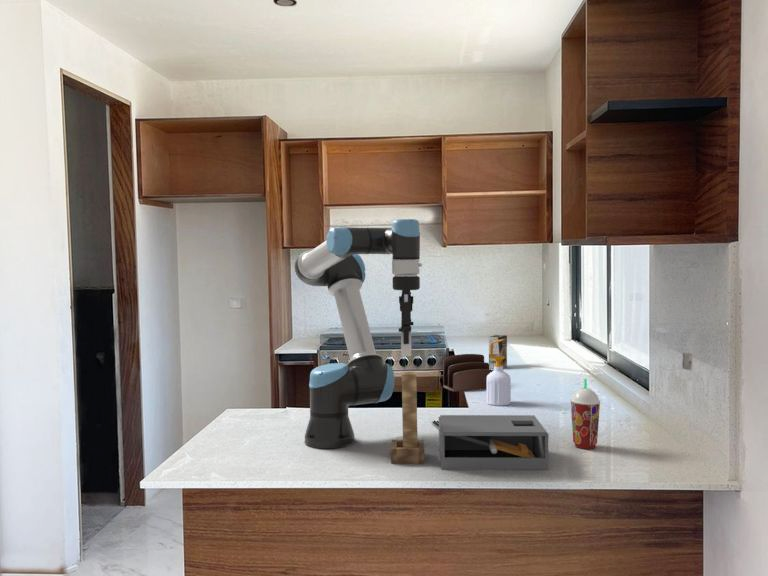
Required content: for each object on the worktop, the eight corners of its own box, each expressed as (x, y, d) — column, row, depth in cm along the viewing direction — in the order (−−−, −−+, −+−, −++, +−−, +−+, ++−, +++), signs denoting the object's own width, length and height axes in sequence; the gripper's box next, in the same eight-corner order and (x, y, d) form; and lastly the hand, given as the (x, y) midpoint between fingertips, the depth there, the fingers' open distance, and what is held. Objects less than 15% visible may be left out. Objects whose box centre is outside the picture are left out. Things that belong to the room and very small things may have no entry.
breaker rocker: (449, 440, 173) (452, 431, 173) (446, 426, 188) (449, 417, 188) (536, 466, 172) (539, 457, 172) (526, 449, 187) (529, 441, 187)
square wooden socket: (391, 463, 177) (391, 449, 177) (392, 453, 186) (392, 439, 186) (424, 463, 177) (424, 449, 177) (423, 453, 186) (423, 439, 186)
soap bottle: (508, 406, 242) (508, 341, 241) (484, 405, 245) (484, 340, 244) (512, 401, 251) (512, 338, 249) (488, 400, 254) (488, 337, 252)
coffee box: (500, 369, 321) (500, 337, 320) (488, 368, 324) (488, 336, 323) (507, 366, 328) (507, 335, 327) (495, 365, 332) (495, 334, 331)
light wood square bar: (403, 460, 180) (401, 374, 178) (403, 456, 184) (401, 371, 182) (417, 460, 179) (416, 374, 178) (417, 456, 183) (416, 371, 182)
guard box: (441, 469, 172) (441, 431, 172) (438, 449, 190) (438, 415, 190) (548, 469, 171) (548, 432, 170) (535, 449, 189) (535, 415, 188)
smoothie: (606, 449, 188) (606, 380, 187) (580, 452, 186) (581, 382, 185) (589, 441, 196) (589, 375, 195) (564, 444, 194) (565, 377, 193)
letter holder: (442, 387, 279) (442, 355, 278) (483, 384, 286) (483, 352, 285) (453, 392, 270) (453, 358, 269) (495, 388, 277) (495, 355, 276)
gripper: (420, 277, 167) (420, 359, 168) (419, 273, 191) (419, 345, 193) (391, 277, 167) (391, 359, 168) (393, 274, 192) (394, 345, 193)
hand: (406, 352), depth 180 cm, fingers open, 13 cm apart
